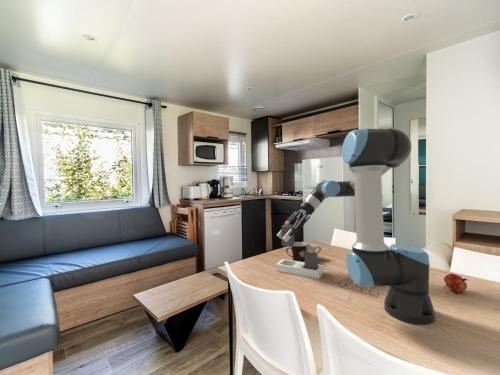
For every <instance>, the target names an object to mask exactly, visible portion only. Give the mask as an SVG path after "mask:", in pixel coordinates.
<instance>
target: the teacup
mask: <svg viewBox="0 0 500 375" xmlns="http://www.w3.org/2000/svg"><path fill="white" fill-rule="evenodd" d="M306 244H307V245H306V253H307V252H309V249H313V252H315V253H317V255H318V254H319V253H320V252H322V247H321V246H320V245H315V244H314V243H306ZM317 248H319V250H317ZM316 250H317V251H316Z"/></svg>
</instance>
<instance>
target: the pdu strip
mask: <svg viewBox="0 0 500 375" xmlns="http://www.w3.org/2000/svg"><path fill="white" fill-rule="evenodd" d="M324 267H325V266H324V265H323V264H318V269H317V270H312V269H306V268H305V261H304V262H299V261H293V259H285V258H282V259H281V260H279V261H278V262H277V263H275V271H276V272H280V273H283V274H284V273H286V274H291V275H295V276H302V277H305V278H313V279H318V280H320V278H321V277H322V275H323V274H324V273H325V271H324V270H325V269H324Z"/></svg>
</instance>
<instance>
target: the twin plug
mask: <svg viewBox="0 0 500 375" xmlns="http://www.w3.org/2000/svg"><path fill="white" fill-rule="evenodd" d="M304 255H305V261H304V262H305V268H306V269H312V270H317V269H318V263H319V262H318V257H319V256H318V254H317V253H316V251H315V252H313V249H309V252H307V253H305V254H304Z"/></svg>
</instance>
